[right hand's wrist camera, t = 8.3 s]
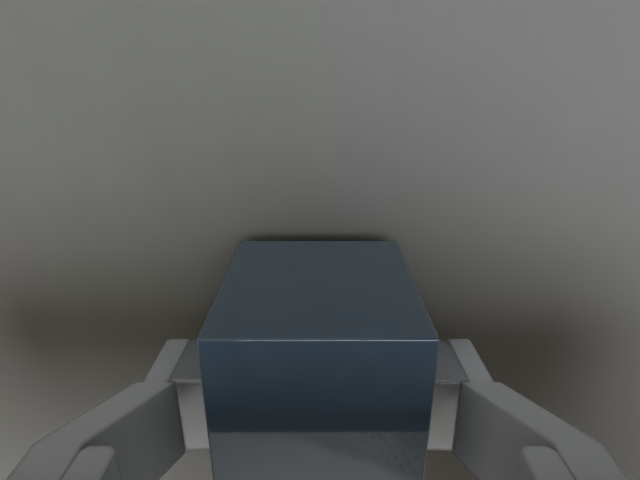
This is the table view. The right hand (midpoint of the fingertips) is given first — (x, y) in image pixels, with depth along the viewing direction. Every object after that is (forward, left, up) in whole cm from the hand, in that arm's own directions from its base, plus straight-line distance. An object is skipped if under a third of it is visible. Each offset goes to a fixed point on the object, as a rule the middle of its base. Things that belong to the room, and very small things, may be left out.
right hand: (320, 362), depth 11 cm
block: (0, 0, -2) cm, 2 cm away
